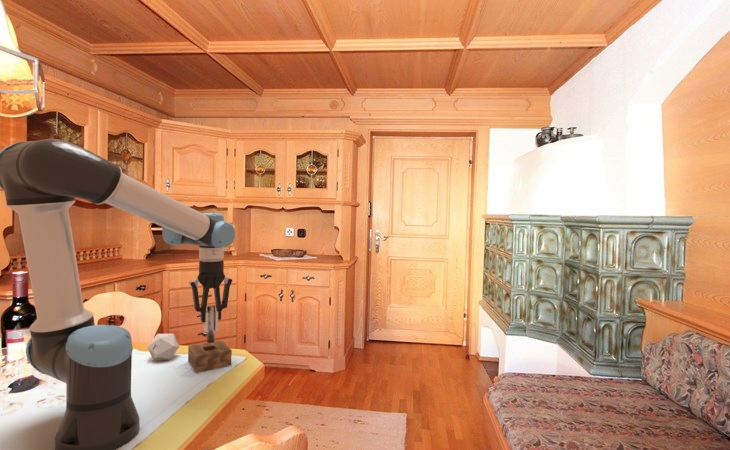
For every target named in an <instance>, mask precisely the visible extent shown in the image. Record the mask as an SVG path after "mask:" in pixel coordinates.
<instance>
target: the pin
mask: <svg viewBox="0 0 730 450" xmlns="http://www.w3.org/2000/svg"><path fill="white" fill-rule="evenodd" d="M215 310H216V304H209V305H208V304H207V307H206V311H207V312H208V333H206V343H213V342H216V339H215V338H216V336H215V335H216V334H215V333H216V331H215Z"/></svg>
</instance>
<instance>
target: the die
mask: <svg viewBox="0 0 730 450" xmlns="http://www.w3.org/2000/svg"><path fill="white" fill-rule="evenodd" d="M146 348H147V350H148V351H149V354H150V356H151V359H152V361H170V360H171V359H173V356H175V354H176V352H177V351H178V350H179V348H180V345H179V343H178V340H177V338H176V335H175V334H174V333H156V335H155V336H154V337H153V339H152V340H151V341H150V342H149V344H148V345H147V346H146Z"/></svg>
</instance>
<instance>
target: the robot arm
mask: <svg viewBox="0 0 730 450" xmlns="http://www.w3.org/2000/svg"><path fill="white" fill-rule="evenodd" d="M0 188H1V189H2V190H3V192H4V197H5V198H4V199H5V202H6V207H7V208H9V209H10V210H13V211H14V212H15V213H16V214H17V215H18V220H19V225H20V232H21V238H22V242H23V246H24V253H25V259H26V264H27V269H28V276H29V280H30V287H31V291H32V297H33V303H34V309H35V313H36V314H35V315H36V319H35V320H34V322H33V323H32V324H30V325H29V332H30V339H29V340H28V341H27V344H26V348H25V355H26V356H25V357H26V359H27V361H28V362H29V364H30V366H31V367H32V368H33V369H35V370H36V371H37V372H39V373H41V374H42V375H45V376H48V377H51V378H53V379H55V380H58V381H60V382H62V383H65V385H66V389H65V390H66V406H65V411H64V414H63V417H62V419H61V423H60V424H59V427H58V430H57V432H56V435H55V441H54V449H55V450H116V449H118V448H120V447H122V446H124V445H125V444H126V443H128V442H130V441H132V439H134V438H135V436H136V435H137V434H138V433H139V430H140V421H141V420H140V415H139V412H138V410H137V407H136V405H135V403H134V400H133V397H132V367H133V366H132V364H133V361H132V360H133V357H132V356H133V355H132V354H133V349H134V347H133V341H132V335H131V333H130V331H129V330H128V329H126V328H125V327H122V326H119V325H115V324H114V325H113V324H111V325H107V324H96V323H95V319H94V313H93V312H92V311H91V310H89V309H87V308H85V306H84V299H83V293H82V288H81V287H82V286H81V281H80V280H81V279H80V274H79V269H78V261H77V256H76V254H77V253H76V249H75V243H74V238H73V237H74V236H73V230H72V224H71V219H70V213H69V209H70V208H71V207H72V206H73V205H74V204H75V203H76V199H79V200H83V201H87V202H89V203H92V204H95V205H103V204H106V205H109V206H112V207H114V208H116V209H118V210H120V211H121V210H122V211H124V212H126V213H127V214H131V215H133V216H136V217H138V218H140V219H143V220H145V221H147V222H151V223H153V224H155V225H157V226H159V227H162V230H161V231H162V234H161V235H162V239H163V241H164V242H165V243H166V244H167V245H169V246H173V245H174V246H180V245H189V246H191V245H192V246H198V247H199V248H198V250H199V251H198V254H199V255H198V259H199V262H198V276H197V278H196V279H194V280H190V281H189V282H188V283H189V286H190V287H191V290H192V298H193V307H194V310H195V311H196V312H197V313H200V322H201V323H203V331H204V332H205V334H207V333H208V312H207V306H208V299H209V293H210V289H213V293H214V302H215V303H214V305H215V332H218V331H219V321H222V311H223V310H224V309H227V308H228V303H229V295H230V288H231V285H232V283H233V279H232V278H230V277H226V275H225V273H224V271H225V270H224V269H225V268H224V267H225V265H224V264H225V263H224V262H225V261H224V260H223V259H224V258H225V257H224V255H225V254H224V253H225V251H224V250H225V248H228V247H230V246H231V245H232V244H233V243H234V241H235V239H236V229H235V227H234V226H233V224H232V223H230V222H229V221H225V218H224V217H225V216H224V214H223V213H216V212H200V211H198V210H196V209H194V208H192V207H190V206H188V205H186V204H184V203H182V202H181V201H178V200H176V199H174V198H172V197H171V196H168V195H167V194H164V193H163V192H161V191H158V190H156V189H154V188H152V187H151V186H149V185H147V184H145V183H143V182H141V181H139V180H137V179H135V178H133V177H131V176H129V175H127V174H125V173H123V171H122V168H121V166H119V165H117V164H116V163H113V162H112V161H109V160H108V159H106V158H104V157H102V156H100V155H98V154H96V153H94V152H93V151H91V150H89V149H86V148H84V147H83V146H80V145H77V144H75V143H73V142H70V141H66V140H62V139H57V138H45V139H39V140H29V141H27V140H26V141H19V142H15V143H12V144H11V145H7V146H6V147H4V148H2V149H1V150H0ZM222 283H223V285H224V286H223V293H222V298H221V293H220V291H221V290H220V289H221V287H220V286H221V284H222ZM199 284H200V285H201V286H202V295H201V303H200V297H199V290H198V286H199Z"/></svg>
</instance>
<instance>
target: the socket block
mask: <svg viewBox="0 0 730 450" xmlns="http://www.w3.org/2000/svg"><path fill="white" fill-rule="evenodd" d="M187 349H188V351H187V353H188V354H187V355H188V356H187V360H188V363H189V365H190V366H191V368H192V370H193V371H194V373H200V372H205V371H209V370H214V369H221V368H225V367H229V365H230V366H232V353H233V351H232V349H231V348H230V347H229V346H228V345H227V343H226V342H224V340H215V342H213V343H207V342H206V343H205V342H203V343H200V344H199V343H198V344H193V345H188V348H187ZM224 366H225V367H224ZM220 367H221V368H220Z"/></svg>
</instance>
